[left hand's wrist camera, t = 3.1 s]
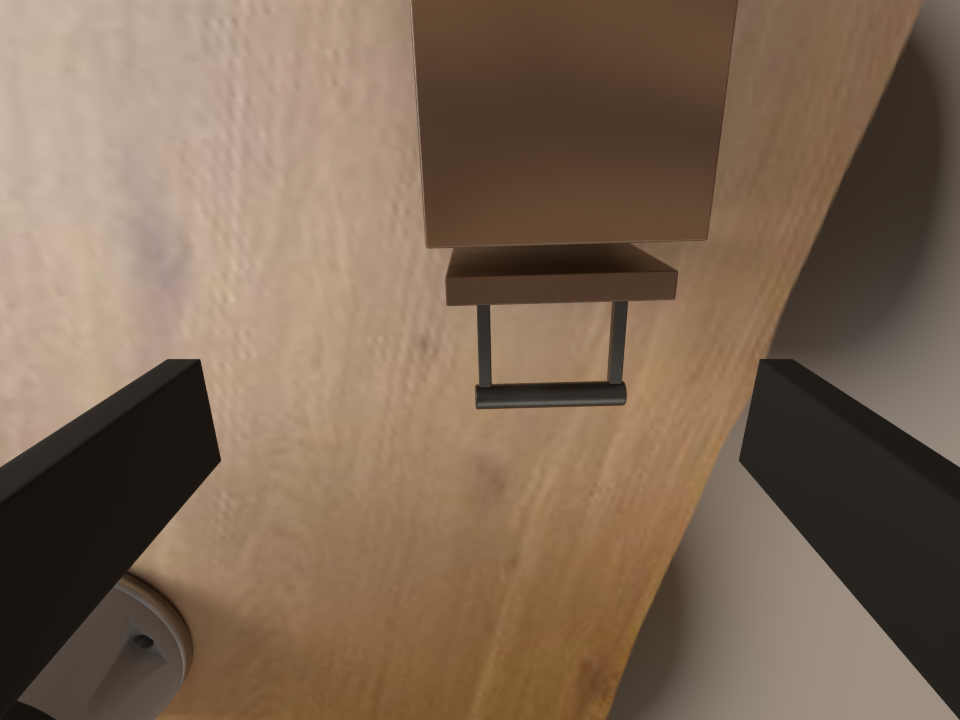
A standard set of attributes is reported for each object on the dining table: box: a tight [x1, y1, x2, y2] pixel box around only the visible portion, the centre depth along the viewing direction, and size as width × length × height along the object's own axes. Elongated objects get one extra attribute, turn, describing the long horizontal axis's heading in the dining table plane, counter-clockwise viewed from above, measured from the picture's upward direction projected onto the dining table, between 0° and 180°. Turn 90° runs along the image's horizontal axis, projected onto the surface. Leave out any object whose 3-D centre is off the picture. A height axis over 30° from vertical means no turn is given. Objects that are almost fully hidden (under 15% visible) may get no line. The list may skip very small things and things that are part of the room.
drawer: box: [445, 243, 678, 409], centre depth 23 cm, size 26×9×8 cm, turn 2°
